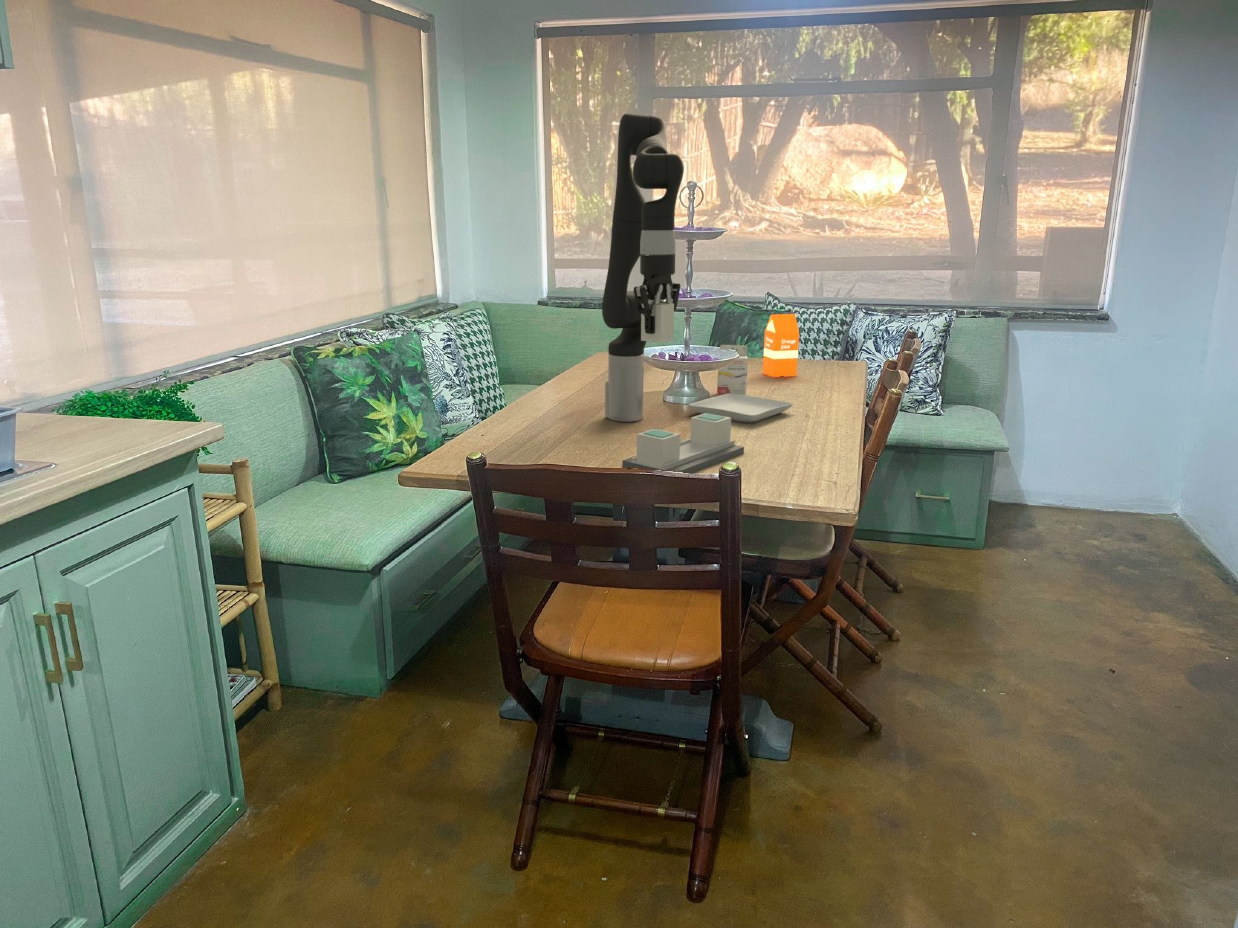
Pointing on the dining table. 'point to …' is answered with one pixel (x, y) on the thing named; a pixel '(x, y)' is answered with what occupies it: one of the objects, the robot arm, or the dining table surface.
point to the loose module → (660, 324)
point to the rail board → (686, 446)
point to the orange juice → (781, 346)
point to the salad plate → (740, 407)
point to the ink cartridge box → (733, 373)
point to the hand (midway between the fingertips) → (657, 332)
